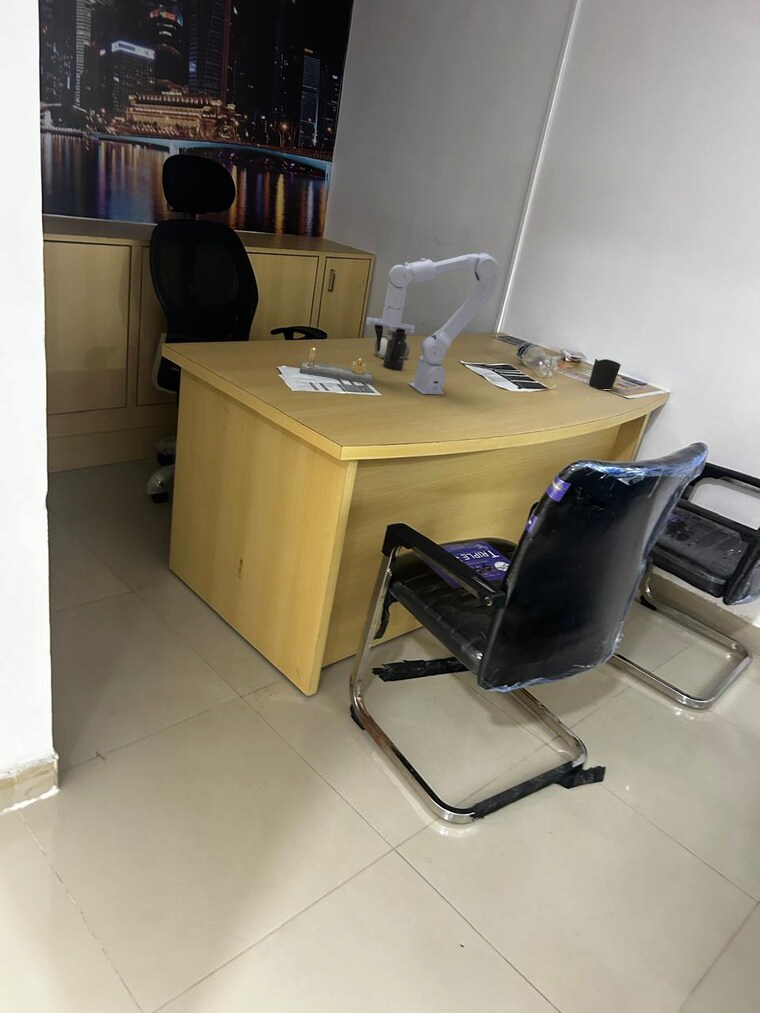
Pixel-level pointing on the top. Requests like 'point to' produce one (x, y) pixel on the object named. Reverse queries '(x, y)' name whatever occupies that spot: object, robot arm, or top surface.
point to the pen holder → (604, 374)
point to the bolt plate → (333, 370)
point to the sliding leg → (359, 366)
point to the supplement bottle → (395, 353)
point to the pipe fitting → (384, 344)
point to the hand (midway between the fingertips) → (385, 351)
